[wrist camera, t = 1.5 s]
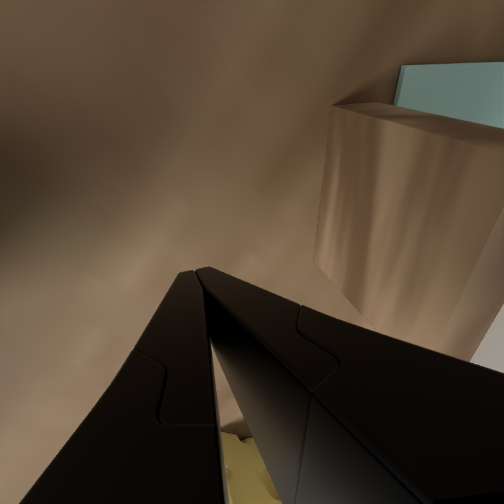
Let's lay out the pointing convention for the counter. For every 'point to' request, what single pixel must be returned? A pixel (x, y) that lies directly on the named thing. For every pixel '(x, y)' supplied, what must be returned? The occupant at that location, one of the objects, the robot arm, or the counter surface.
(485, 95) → the mat
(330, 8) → the counter surface
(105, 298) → the counter surface
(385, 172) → the walnut block
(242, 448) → the cheese
